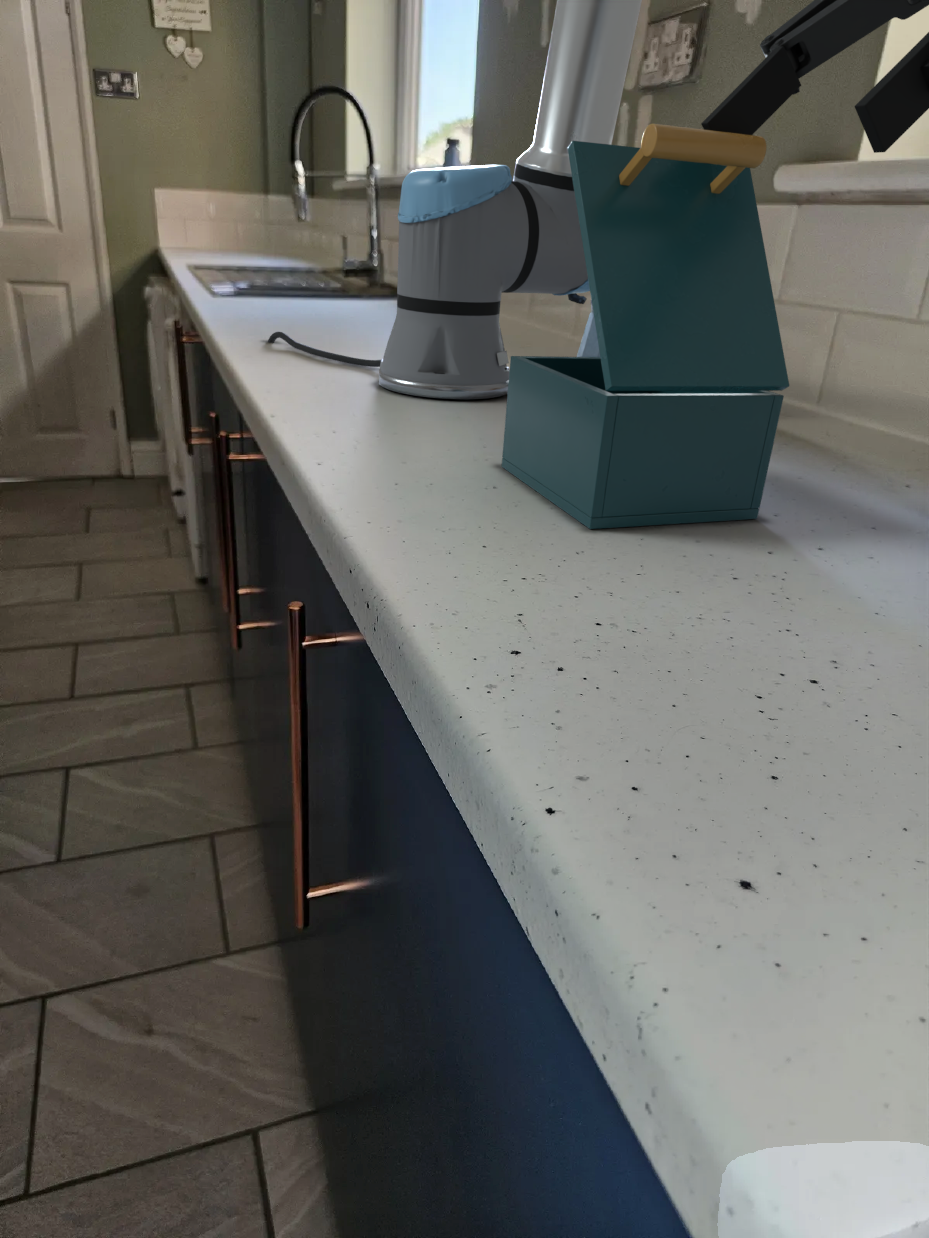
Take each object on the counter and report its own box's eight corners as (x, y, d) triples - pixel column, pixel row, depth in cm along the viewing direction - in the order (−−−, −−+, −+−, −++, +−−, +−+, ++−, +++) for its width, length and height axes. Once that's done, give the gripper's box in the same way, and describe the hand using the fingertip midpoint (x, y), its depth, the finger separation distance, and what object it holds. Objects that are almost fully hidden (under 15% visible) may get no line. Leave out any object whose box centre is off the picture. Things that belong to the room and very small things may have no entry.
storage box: (501, 466, 71) (510, 355, 67) (645, 462, 76) (661, 357, 72) (589, 529, 58) (607, 396, 54) (757, 519, 63) (784, 395, 59)
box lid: (567, 148, 56) (608, 86, 51) (741, 166, 61) (796, 111, 56) (605, 391, 54) (652, 352, 49) (781, 390, 59) (842, 355, 54)
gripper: (872, -142, 57) (639, 97, 58) (1315, -336, 36) (933, 45, 37) (912, -30, 61) (692, 191, 62) (1331, -146, 40) (986, 191, 41)
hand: (782, 137), depth 50 cm, fingers open, 13 cm apart
